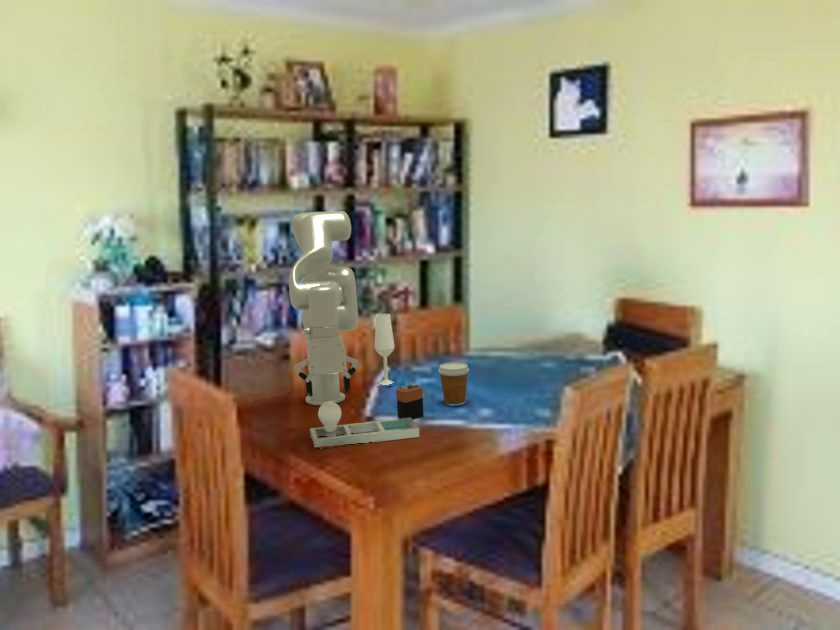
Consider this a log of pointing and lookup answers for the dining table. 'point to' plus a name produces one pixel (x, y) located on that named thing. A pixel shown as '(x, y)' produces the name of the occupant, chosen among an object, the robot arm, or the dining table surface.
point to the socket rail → (383, 429)
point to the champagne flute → (384, 341)
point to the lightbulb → (329, 417)
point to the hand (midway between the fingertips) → (328, 393)
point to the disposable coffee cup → (454, 381)
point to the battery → (410, 401)
